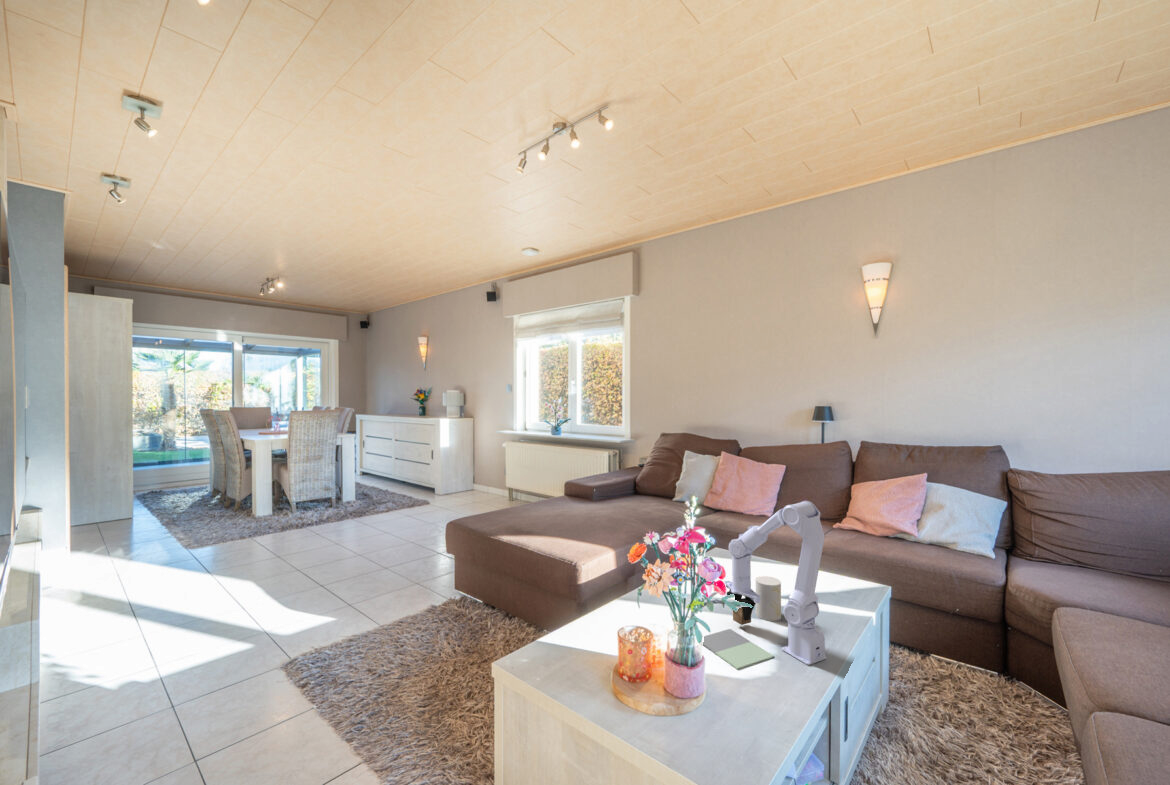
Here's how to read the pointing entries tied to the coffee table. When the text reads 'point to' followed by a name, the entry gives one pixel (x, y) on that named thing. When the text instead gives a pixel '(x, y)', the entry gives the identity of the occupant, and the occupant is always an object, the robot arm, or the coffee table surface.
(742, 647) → the board
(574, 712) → the coffee table surface
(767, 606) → the beige cylinder
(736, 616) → the block
